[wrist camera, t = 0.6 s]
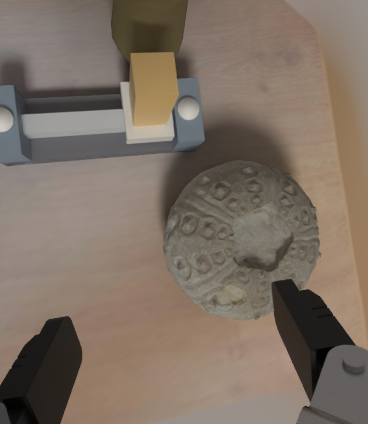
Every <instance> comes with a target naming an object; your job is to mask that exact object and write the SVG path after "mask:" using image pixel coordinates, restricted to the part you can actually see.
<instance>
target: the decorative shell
mask: <svg viewBox="0 0 368 424" xmlns="http://www.w3.org/2000/svg"><path fill="white" fill-rule="evenodd" d="M315 211H316V208H315V207H314V206H313V204H312V203H311V201H310V199H309V197H308V196H307V195H306V194H305V192H304V191H303V190H302V188H301V187H300V186H299V185H298V183H297V182H296V181H295V180H294V179H292V178H291V177H290V174H289V173H284V172H282V171H281V170H279V169H277V168H271V167H268V166H266V165H263V164H259V163H257V162H255V161H243V160H239V159H237V160H235V161H229V162H226V163H224V164H221V165H218V166H215V167H213V168H209V169H206V170H204V171H203V172H201V173H200V174H198V175H197V176H195V177H194V178H193V180H192V181H191V182H189V183H188V184H187V185H186V186H185V188H184V189H183V191H182V192H181V194H180V195H179V197H178V198H177V200H176V201H175V203H174V205H173V206H172V207H171V210H170V213H169V216H168V219H167V223H166V226H165V233H164V246H163V249H164V253H165V256H166V261H167V266H168V270H169V272H170V273H171V274H172V276H173V277H174V279H175V281H176V282H177V283H178V285H179V286H180V288H181V289H182V290H183V291H184V292H185V293H186V294H187V295H188V297H189V298H190V299H191V300H192V301H193V302H194V303H195V304H197V305H198V306H200V307H202V308H203V310H204V311H206V312H207V313H209V314H211V315H214V316H221V317H230V318H233V319H239V320H249V319H256V320H258V319H259V317H263V316H266V315H268V314H269V313H271V312H274V308H273V298H272V288H271V283H272V282H274V281H279V280H285V279H292V280H293V281H294V283H295V284H296V286H297V288H298V289H299V291H301V290H302V289H303V288H304V286H305V285H306V283H307V282H308V279H309V277H310V275H311V273H312V271H313V269H314V267H315V265H316V259H317V258H320V257H321V253H320V252H319V246H320V241H319V239H318V235H319V231H318V227H317V218H316V213H315Z"/></svg>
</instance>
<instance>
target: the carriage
mask: <svg viewBox="0 0 368 424" xmlns="http://www.w3.org/2000/svg"><path fill="white" fill-rule="evenodd" d="M120 89H121V103H122V109H123V115H124V123H125V136H126V144H135V143H148V142H162V141H172V140H173V138H174V136H175V135H174V127H173V119H172V110H173V108H174V105H175V103H176V100H177V98H178V96H179V91H178V82H177V74H176V66H175V58H174V52H157V53H130V80H129V82H120Z"/></svg>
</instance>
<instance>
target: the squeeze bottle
mask: <svg viewBox="0 0 368 424" xmlns="http://www.w3.org/2000/svg"><path fill="white" fill-rule="evenodd" d="M187 4H188V0H114V1H113V10H112V20H111V28H112V38H113V40H114V42H115V44H116V46H117V48H118V50H119V51H120V53H121V54H122V55H123V57H124V58H125V59H126V61H127V62H128V63H129V64H130V53H157V52H174V56H175V55H176V54H177V53H178V52H179V49H180V46H181V43H182V39H183V33H184V26H185V18H186V11H187Z"/></svg>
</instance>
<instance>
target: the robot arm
mask: <svg viewBox="0 0 368 424" xmlns="http://www.w3.org/2000/svg"><path fill="white" fill-rule="evenodd" d="M271 288H272V298H273V308H274V317H275V322H276V325H277V329H278V331H279V334H280V336H281V338H282V340H283V342H284V345H285V347H286V349H287V351H288V354H289V356H290V358H291V360H292V363H293V365H294V367H295V369H296V371H297V374H298V376H299V378H300V380H301V383H302V385H303V387H304V389H305V392H306V394H307V396H308V398H309V400H310V406H309V407H307V406H304V407H303V408H302V410H301V412H300V414H299V417H298V420H297V423H296V424H368V351H367V350H366V349H363V348H361V347H358V346H356V345H355V343H354V342H353V341H352V339H351V338H350V337H349V335H348V334H347V333H346V331H345V330H344V329H343V327H342V326H341V324H340V323H339V322H338V320H337V319H336V318H335V316H333V314H332V312H331V311H330V309H329V308H327V305H326V304H325V303H324V301H323V300H322V299H321V297H320V296H318V295H317V294H315V293H314V292H312V291H310V290H309V289H307V290H301V291H299V289H298V288H297V286H296V284H295V283H294V281H293V280H292V279H285V280H279V281H274V282H272V283H271ZM81 362H82V348H81V345H80V342H79V339H78V337H77V334H76V331H75V328H74V326H73V323H72V320H71V318H70V317H69V316H65V317H60V318H54V319H49V320H47V321H46V323H45V325H44V327H43V328H42V330H41V332H40V334H38V335H35V336H34V337H33V338H32V339H31V340H30V341H29V342H28V343H27V344H26V345H24V347H23V349H22V350H21V352H20V354H19V355H18V359H16V360H15V362H14V364H13V365H12V369H10V370H9V372H8V374H7V375H6V377H5V379H4V380H3V382H2V384H1V385H0V424H60V423H61V420H62V417H63V414H64V411H65V408H66V406H67V403H68V400H69V397H70V394H71V391H72V388H73V385H74V383H75V380H76V377H77V374H78V371H79V368H80V365H81Z"/></svg>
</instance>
